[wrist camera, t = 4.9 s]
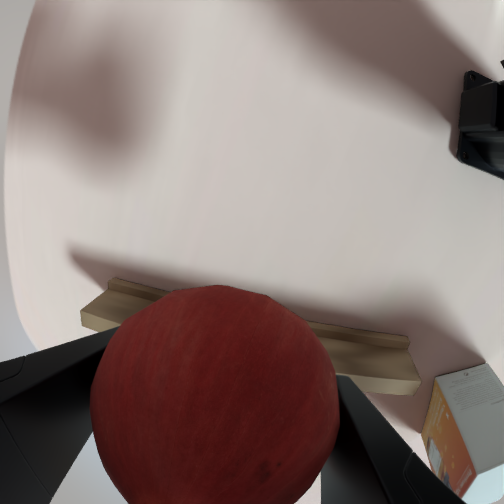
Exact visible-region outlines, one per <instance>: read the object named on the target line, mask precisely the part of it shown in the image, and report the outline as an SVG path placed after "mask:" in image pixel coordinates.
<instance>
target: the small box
mask: <svg viewBox="0 0 504 504" xmlns="http://www.w3.org/2000/svg"><path fill="white" fill-rule="evenodd" d="M421 436H422V439H423V442H424V446H425V449H426V452H427V456H428V459H429V463H430V466H431V470H432V472H433V473H434V474H435V475H436V476H437V477H438V478H439V479H440V480H441V481H442V482H443V483H444V484H446V485H447V486H448V487H449V488H450V489H451V490H452V491H453V492H454V493H456V494H457V495H458V496H459V497H460V498H461V499H462V500H463V501H464V502H466V503H467V504H490V503H493V502H495V501H497V500H499V499H500V498H501V497H502V496H503V494H504V386H503V384H502V383H501V381H500V380H499V378H498V377H497V375H496V374H495V373H494V371H493V370H492V368H491V367H490V366H489V364H488V363H486V364H482V365H479V366H476V367H472V368H469V369H465V370H462V371H458V372H454V373H450V374H446V375H442V376H438V377H436V378H435V381H434V387H433V393H432V397H431V401H430V405H429V409H428V413H427V416H426V420H425V423H424V426H423V429H422V432H421Z"/></svg>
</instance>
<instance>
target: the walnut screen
mask: <svg viewBox="0 0 504 504" xmlns="http://www.w3.org/2000/svg"><path fill="white" fill-rule="evenodd" d="M169 293H171V292H167V291H163V290H159V289H155V288H151V287H147V286H143V285H139V284H136V283H132V282H128V281H124V280H120V279H116V278H112V279H111V280H109V281H108V289H107V290H106V291H105V292H103V293H102V294H101V295H100V296H98V297H97V298H96V299H94V300H93V301H92V302H90V303H89V304H88V305H87V306H85V307H84V308H83V309H81V310H80V314H81V322H82V326H84V327H86V328H89V329H92V330H94V331H97V332H102V331H105V330H108V329H111V328H114V327H117V326H120V325H121V324H122V323H123V321H124V320H126V319H127V318H129V317H131V316H132V315H134V314H136V313H137V312H139V311H141V310H142V309H144V308H146V307H147V306H149V305H151V304H152V303H154V302H156V301H157V300H159V299H161V298H162V297H164V296H166V295H167V294H169ZM306 322H307V323H308V325H309V326H310V328H311V329H312V330H313V332H314V333H315V335H316V336H317V338H318V339H319V340H320V342H321V343H322V345H323V346H324V347H325V349H326V350H327V352H328V354H329V357H330V359H331V362H332V364H333V367H334V369H335V373H336V374H337V375H345V376H349V377H350V378H351V379H352V381H353V382H354V383H355V384H356V385H357V386H358V388H359V389H360V390H361V391H362V392H371V393H382V394H395V395H412V396H414V395H415V393H416V391H417V389H418V388H419V386H420V384H421V382H422V381H421V378H420V376H419V374H418V372H417V370H416V367H415V365H414V363H413V361H412V359H411V357H410V354H409V352H408V350H407V349H408V346H409V344H410V341H409V339H408V337H407V336H399V335H392V334H385V333H378V332H371V331H365V330H358V329H352V328H346V327H340V326H334V325H328V324H322V323H316V322H310V321H306Z"/></svg>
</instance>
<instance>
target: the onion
mask: <svg viewBox="0 0 504 504" xmlns="http://www.w3.org/2000/svg"><path fill="white" fill-rule="evenodd" d="M90 416H91V423H92V430H93V434H94V438H95V442H96V446H97V450H98V453H99V456H100V459H101V461H102V464H103V467H104V468H105V471H106V472H107V474H108V475H109V477H110V479H111V480H112V482H113V484H114V485H115V487H116V488H117V489H118V491H119V492H120V493H121V495H122V496H123V497H124V499H125V500H126V501H127V502H128V504H294V503H295V502H297V501H298V500H299V499H300V498H301V497H302V496H303V495H304V494H305V492H306V491H307V490H308V489H309V488H310V487H311V486H312V484H313V483H314V481H315V479H316V478H317V476H318V475H319V473H320V471H321V470H322V468H323V466H324V464H325V463H326V461H327V459H328V457H329V456H330V454H331V452H332V450H333V448H334V446H335V443H336V439H337V435H338V431H339V428H340V412H339V398H338V389H337V381H336V373H335V369H334V367H333V364H332V362H331V359H330V357H329V354H328V352H327V350H326V349H325V347H324V346H323V345H322V343H321V342H320V340H319V339H318V338H317V336H316V335H315V333H314V332H313V330H312V329H311V328H310V326H309V325H308V323H307V322H306V321H305V320H304V319H302V318H301V317H299V316H298V315H296V314H295V313H293V312H291V311H290V310H288V309H287V308H285V307H284V306H282V305H281V304H279V303H278V302H276V301H274V300H273V299H271V298H270V297H268V296H267V295H263V294H258V293H254V292H250V291H246V290H242V289H238V288H234V287H230V286H223V285H213V286H205V287H198V288H190V289H182V290H174V291H172V292H171V293H169V294H167V295H166V296H164V297H162V298H161V299H159V300H157V301H156V302H154V303H152V304H151V305H149V306H147V307H146V308H144V309H142V310H141V311H139V312H137V313H136V314H134V315H132V316H131V317H129V318H127V319H126V320H124V321H123V323H122V324H121V325H120V327H119V328H118V330H117V331H116V332H115V334H114V335H113V336H112V338H111V339H110V341H109V343H108V345H107V347H106V349H105V351H104V354H103V356H102V358H101V360H100V363H99V365H98V367H97V370H96V373H95V376H94V379H93V382H92V385H91V392H90Z"/></svg>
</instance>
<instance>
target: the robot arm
mask: <svg viewBox="0 0 504 504" xmlns="http://www.w3.org/2000/svg"><path fill="white" fill-rule="evenodd" d="M500 62H501V64H502V66H503V68H504V60H502V61H500ZM470 75H471V76H472V77H473V80H471V78H470ZM459 129H460V135H459V143H458V150H457V158H458V160H459V161H460V162H461V163H463V164H466V165H468V166H471V167H474V168H476V169H479V170H481V171H484V172H486V173H489V174H491V175H493V176H496V177H498V178H500V179H503V180H504V80H503V81H500V82H497V81H493V80H491V79H489V78H487V77H485V76H483V75H481V74H479V73H477V72H475V71H472V70H470V71H468V72H466V73H465V76H464V92H462V94H461V107H460V118H459ZM464 152H465V154H466V158H465V159H464V158H463V153H464ZM119 327H120V326H117V327H114V328H111V329H108V330H105V331H102V332H99V333H96V334H93V335H90V336H86V337H83V338H80V339H77V340H74V341H71V342H67V343H64V344H61V345H58V346H54V347H51V348H48V349H45V350H41V351H38V352H35V353H32V354H28V355H26V356H22V357H18V358H15V359H11V360H8V361H4V362H0V504H49V503H50V502H51V500H52V497H53V496H54V494H55V493H56V491H57V489H58V488H59V486H60V484H61V483H62V481H63V479H64V478H65V476H66V474H67V473H68V471H69V469H70V468H71V466H72V464H73V462H74V461H75V459H76V458H77V456H78V454H79V453H80V451H81V450H82V448H83V446H84V445H85V443H86V442H87V440H88V438H89V437H90V435H91V433H92V432H93V430H92V423H91V416H90V392H91V385H92V382H93V379H94V376H95V373H96V370H97V367H98V365H99V363H100V360H101V358H102V356H103V354H104V351H105V349H106V347H107V345H108V343H109V341H110V339H111V338H112V336H113V335H114V334H115V332H116V331H117V330H118V328H119ZM336 381H337V389H338V398H339V412H340V428H339V431H338V435H337V439H336V443H335V446H334V448H333V450H332V452H331V454H330V456H329V457H328V459H327V461H326V463H325V464H324V466H323V468H322V470H321V504H467V503H466V502H464V501H463V500H462V499H461V498H460V497H459V496H458V495H457V494H456V493H454V492H453V491H452V490H451V489H450V488H449V487H448V486H447V485H446V484H444V483H443V482H442V481H441V480H440V479H439V478H438V477H437V476H436V475H435V474H434V473H433V472H432V471H431V470H430V469H429V468H428V467H427V466H426V464H425V463H424V462H423V461H422V460H421V459H420V458H419V457H418V456H417V454H416V453H415V452H413V450H412V449H411V448H410V447H409V445H408V444H407V443H406V442H405V441H404V440H403V438H402V437H401V436H400V435H399V434H398V433H397V432H396V430H395V429H394V428H393V427H392V426H391V425H390V423H389V422H388V421H387V420H386V419H385V418H384V417H383V415H382V414H381V413H380V412H379V411H378V410H377V408H376V407H375V406H374V405H373V404H372V403H371V402H370V400H369V399H368V398H367V397H366V396H365V395H364V393H363V392H362V391H361V390H360V389H359V388H358V386H357V385H356V384H355V383H354V382H353V381H352V379H351V378H350V377H349V376H345V375H337V374H336ZM412 452H413V453H412Z"/></svg>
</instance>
